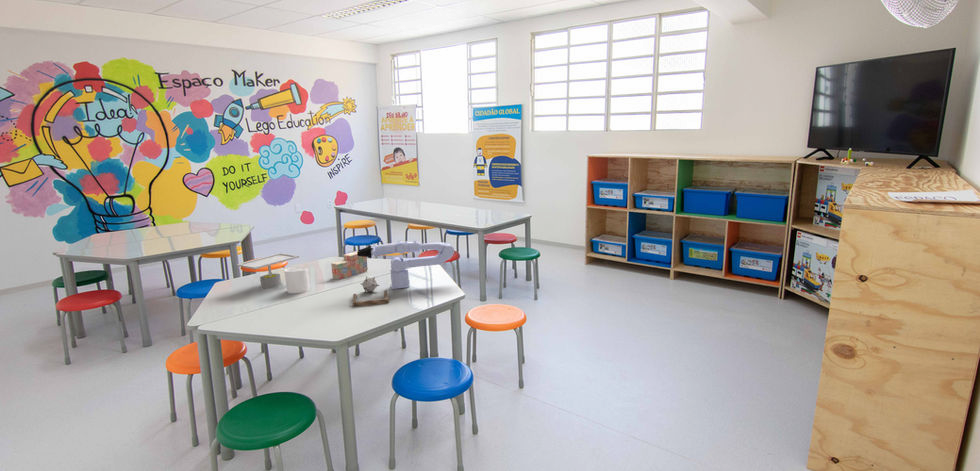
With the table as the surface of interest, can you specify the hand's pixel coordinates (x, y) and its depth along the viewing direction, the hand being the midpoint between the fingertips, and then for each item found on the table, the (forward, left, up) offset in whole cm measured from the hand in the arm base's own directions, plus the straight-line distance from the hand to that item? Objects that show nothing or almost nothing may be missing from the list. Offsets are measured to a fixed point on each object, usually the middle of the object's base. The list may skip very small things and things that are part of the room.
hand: (357, 253), depth 263 cm
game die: (-5, +5, -21) cm, 22 cm away
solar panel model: (+49, -27, -21) cm, 60 cm away
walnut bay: (-5, +19, -20) cm, 28 cm away
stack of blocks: (+6, -34, -21) cm, 40 cm away
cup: (+33, -12, -21) cm, 41 cm away
